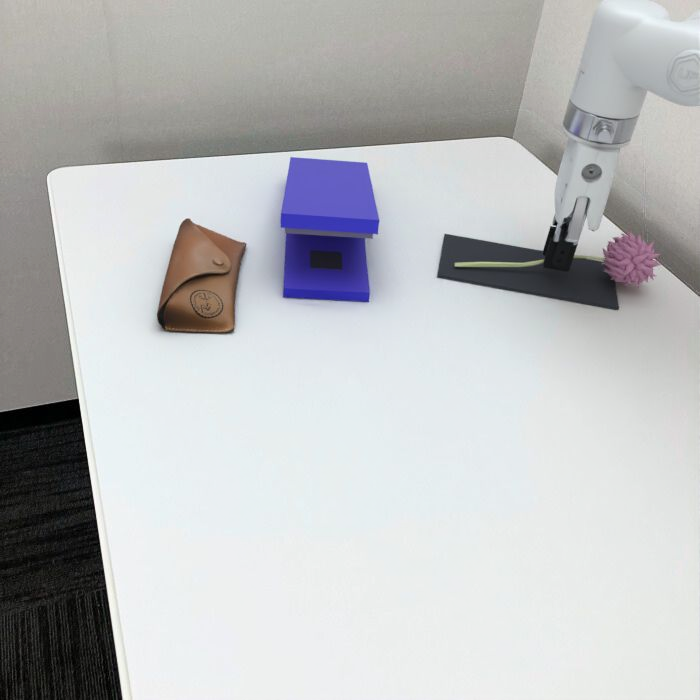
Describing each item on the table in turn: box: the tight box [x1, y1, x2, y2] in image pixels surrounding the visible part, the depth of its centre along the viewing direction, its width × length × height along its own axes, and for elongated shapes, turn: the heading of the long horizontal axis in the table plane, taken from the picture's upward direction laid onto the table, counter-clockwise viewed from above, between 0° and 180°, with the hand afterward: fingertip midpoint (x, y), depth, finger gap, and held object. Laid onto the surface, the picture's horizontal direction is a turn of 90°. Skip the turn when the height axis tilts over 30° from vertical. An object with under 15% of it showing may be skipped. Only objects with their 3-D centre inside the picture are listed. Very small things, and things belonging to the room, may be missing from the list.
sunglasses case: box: [156, 217, 247, 334], centre depth 88 cm, size 18×7×7 cm
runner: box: [436, 233, 620, 311], centre depth 97 cm, size 22×10×1 cm, turn 80°
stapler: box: [280, 156, 380, 303], centre depth 97 cm, size 12×28×10 cm, turn 2°
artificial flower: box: [455, 230, 663, 289], centre depth 95 cm, size 7×7×25 cm
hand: (555, 261), depth 96 cm, fingers closed on artificial flower, 2 cm apart
